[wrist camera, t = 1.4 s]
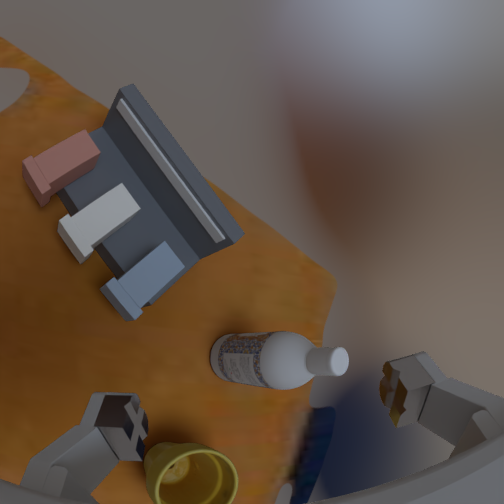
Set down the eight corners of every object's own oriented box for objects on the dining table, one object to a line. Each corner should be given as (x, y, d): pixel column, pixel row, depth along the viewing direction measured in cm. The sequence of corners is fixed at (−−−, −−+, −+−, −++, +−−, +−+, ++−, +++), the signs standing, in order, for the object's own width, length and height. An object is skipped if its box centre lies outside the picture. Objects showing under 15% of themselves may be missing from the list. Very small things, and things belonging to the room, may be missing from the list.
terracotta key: (41, 207, 30) (42, 193, 27) (22, 176, 29) (22, 160, 26) (96, 171, 35) (103, 155, 32) (77, 143, 34) (82, 126, 31)
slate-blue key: (125, 321, 33) (135, 320, 30) (99, 289, 32) (105, 284, 29) (173, 276, 38) (187, 270, 35) (150, 246, 37) (162, 237, 34)
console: (141, 307, 39) (178, 298, 30) (43, 172, 34) (50, 119, 25) (196, 256, 46) (244, 233, 36) (107, 136, 41) (133, 83, 32)
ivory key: (80, 264, 32) (84, 256, 29) (57, 231, 31) (59, 220, 28) (133, 223, 37) (143, 212, 33) (111, 193, 36) (119, 179, 32)
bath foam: (250, 336, 48) (361, 329, 33) (247, 381, 46) (359, 393, 30) (210, 331, 44) (318, 323, 29) (206, 379, 42) (314, 398, 27)
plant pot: (142, 418, 35) (172, 439, 28) (209, 438, 40) (250, 457, 32) (120, 484, 30) (144, 519, 23) (188, 498, 35) (224, 528, 27)
